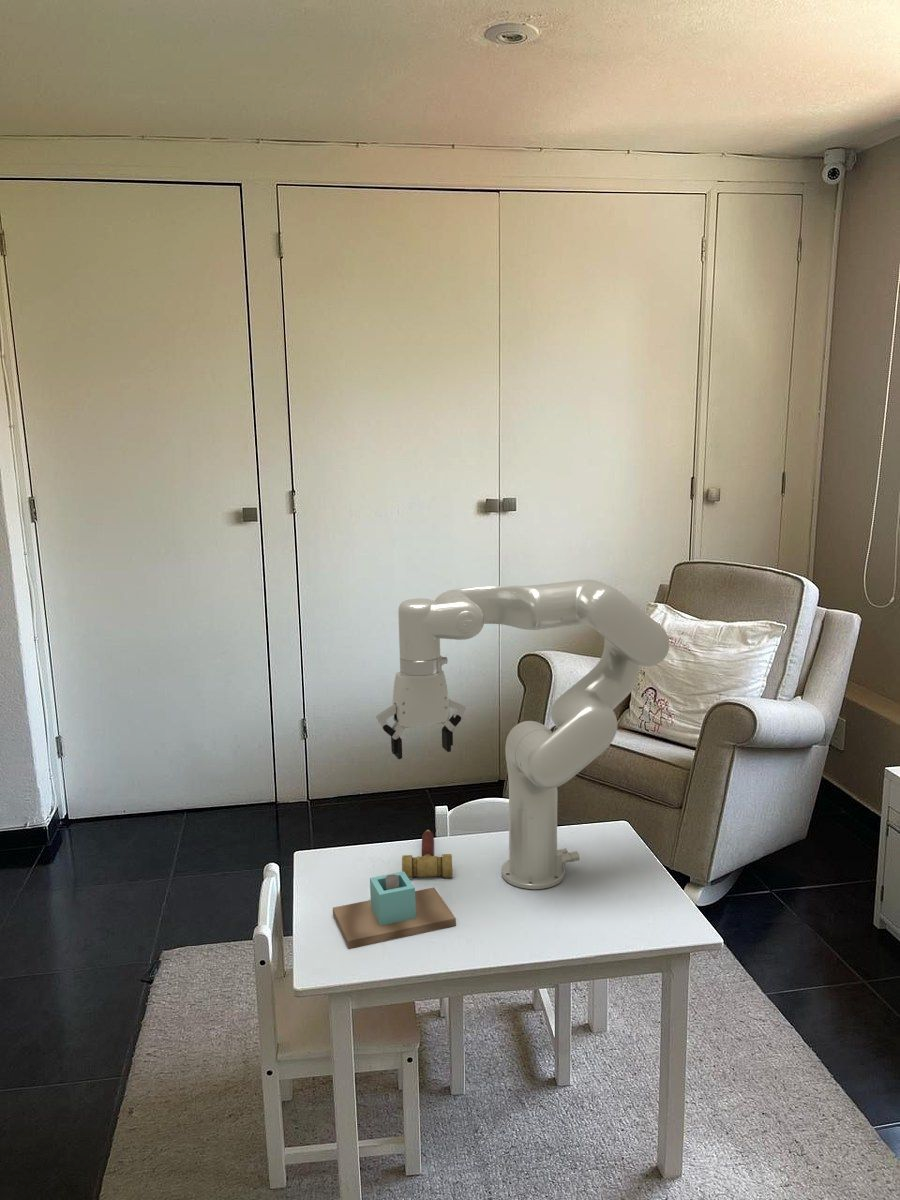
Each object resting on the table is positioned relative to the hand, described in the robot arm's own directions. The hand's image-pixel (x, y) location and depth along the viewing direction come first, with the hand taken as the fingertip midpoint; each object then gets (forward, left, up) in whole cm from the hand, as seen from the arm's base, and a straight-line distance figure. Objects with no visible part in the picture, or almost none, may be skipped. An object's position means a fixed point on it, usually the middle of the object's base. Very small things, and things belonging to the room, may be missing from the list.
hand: (422, 753), depth 175 cm
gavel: (-5, -14, -29) cm, 32 cm away
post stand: (+9, +8, -28) cm, 31 cm away
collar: (+9, +8, -27) cm, 29 cm away
